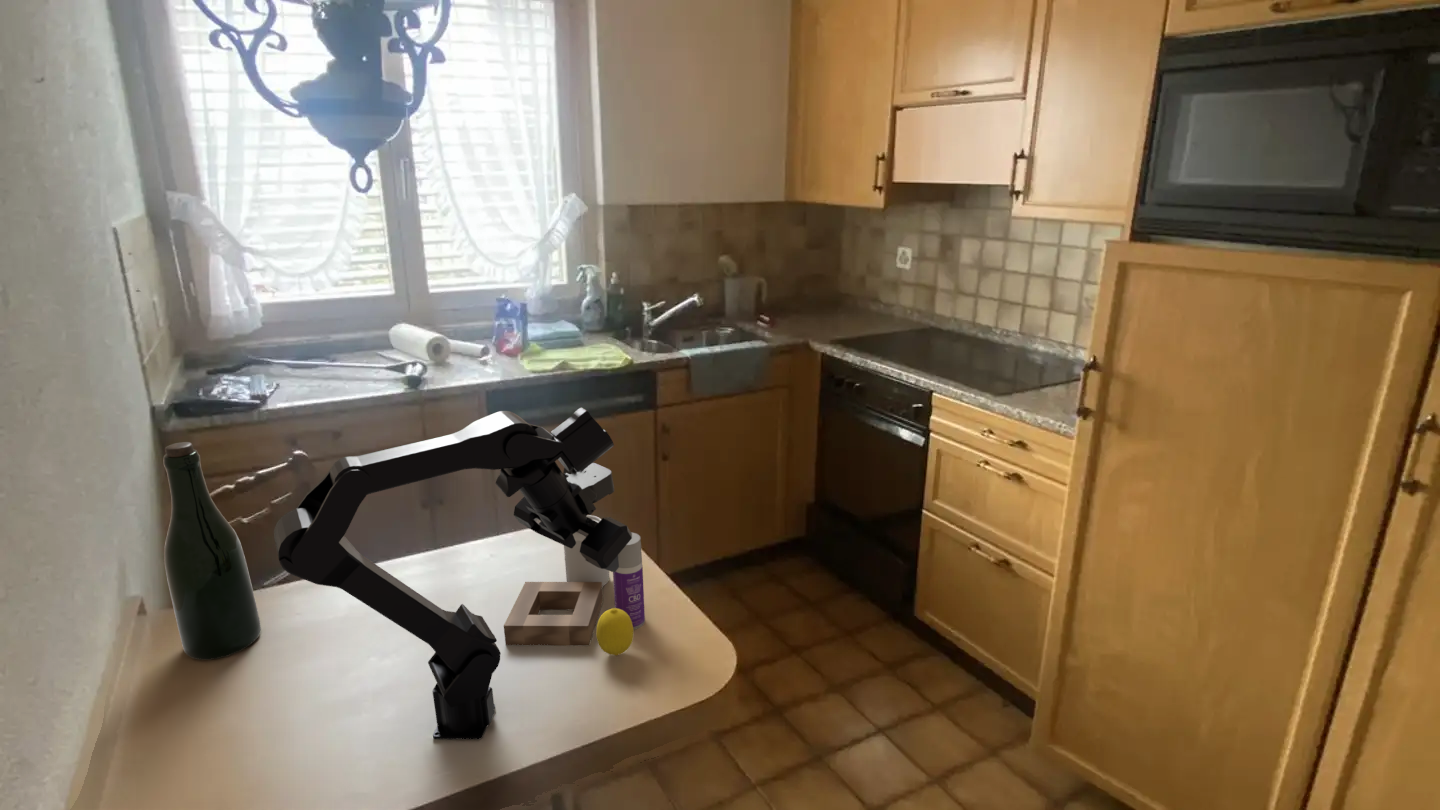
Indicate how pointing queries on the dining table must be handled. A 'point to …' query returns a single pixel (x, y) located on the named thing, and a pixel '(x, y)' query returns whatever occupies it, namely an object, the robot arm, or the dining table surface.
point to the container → (630, 582)
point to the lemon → (614, 631)
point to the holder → (554, 628)
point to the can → (582, 563)
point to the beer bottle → (205, 565)
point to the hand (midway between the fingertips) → (594, 557)
